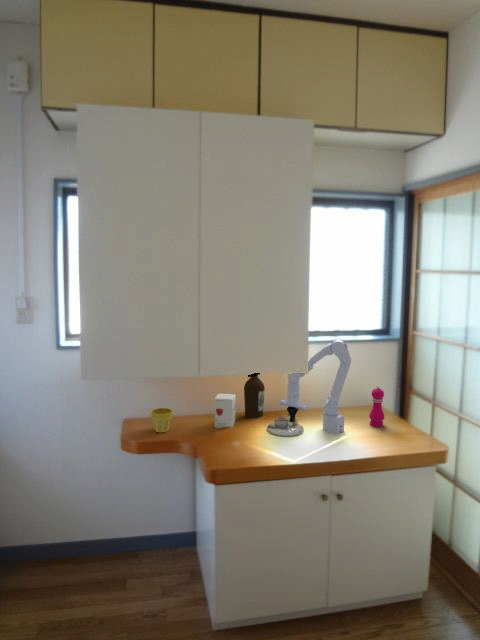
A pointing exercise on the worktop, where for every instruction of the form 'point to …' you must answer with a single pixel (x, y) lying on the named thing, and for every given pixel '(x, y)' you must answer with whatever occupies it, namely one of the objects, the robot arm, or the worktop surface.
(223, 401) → the supplement box
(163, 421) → the plant pot
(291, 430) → the turntable
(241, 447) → the worktop surface
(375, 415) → the pepper mill
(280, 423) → the cover
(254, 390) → the olive oil
